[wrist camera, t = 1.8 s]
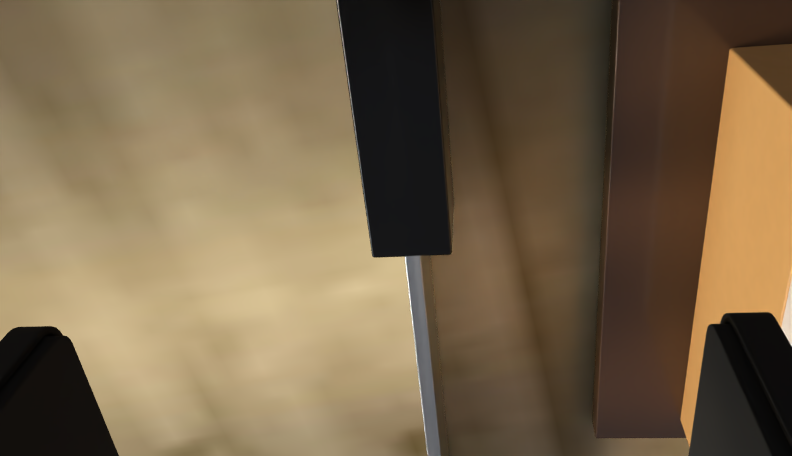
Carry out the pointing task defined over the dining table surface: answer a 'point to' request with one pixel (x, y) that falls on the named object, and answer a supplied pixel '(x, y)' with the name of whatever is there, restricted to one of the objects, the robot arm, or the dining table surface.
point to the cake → (747, 205)
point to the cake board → (661, 196)
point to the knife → (405, 161)
